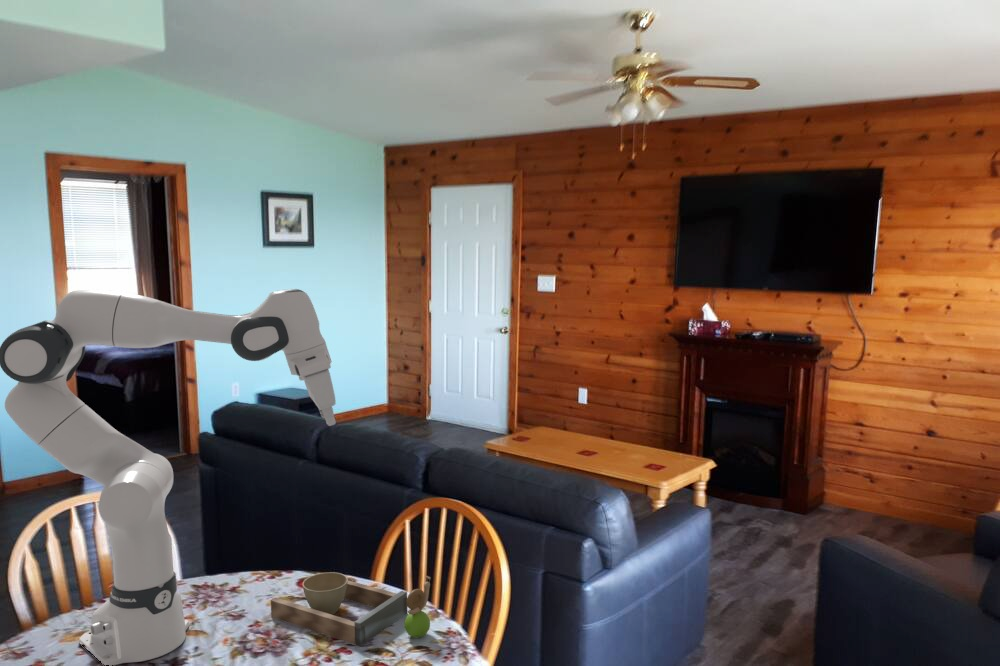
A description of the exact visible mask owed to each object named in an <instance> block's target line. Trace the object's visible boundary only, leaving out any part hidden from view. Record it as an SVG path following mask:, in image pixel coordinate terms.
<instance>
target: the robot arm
mask: <svg viewBox="0 0 1000 666" xmlns="http://www.w3.org/2000/svg"><path fill="white" fill-rule="evenodd" d="M180 341H199V342H209V343H210V342H211V343H218V344H219V343H220V344H227V345H231V346H232V350H234V352H235V353H236V355H238V356H239V357H240V358H242V359H243V360H247V361H251V362H259V361H264V360H266V359H268V358H270V357H271V356H272V355H274V354H276V353H278V352H280V351H283V354H284V355H285V360H286V363H287V365H288V368H289V372H290V374H291V375H292V376H297V377H298V380H299V381H304V385H305V387H306V390H307V394H308V396H309V397H310V399H311V400H312V401H313V403H314V404H315V406H316V407H317V408H318V411H319V414H320V417H321V418H322V419H324V420H325V422H326V425H327V426H328V427H331V426H334V425H336V423H337V421H336V419H335V414H334V410H333V407H334V406H336V404H337V403H336V395H335V394H336V393H335V390H334V386H333V381H332V378H331V377H332V376H331V372H330V370H329V369H331V367H332V366H331V364H332V359H331V355H330V352H329V349H328V345H327V343H326V341H325V338H324V336H323V335H322V334H321V330H320V320H319V317H318V315H317V311H316V309H315V307H314V305H313V302H312V300H311V297H309V295H308V293H307V292H305V291H304V290H301V289H297V288H293V289H292V288H289V289H281V290H275V291H272V292H270V293H269V294H268V296H267V297H266V299H265V300H264V301H263V302H262V303H260V305H259V306H257V307H256V308H255V309H254V310H252V311H250V312H247V313H243V314H239V315H238V314H237V315H234V314H232V315H231V314H230V315H229V314H221V313H214V312H213V313H212V312H205V311H199V310H198V311H197V310H192V309H187V308H184V307H181V306H177V305H174V304H172V303H168V302H166V301H162V300H159V299H156V298H152V297H151V296H150V297H149V296H145V295H140V294H136V293H131V292H123V291H115V290H103V289H102V290H99V289H83V290H80V289H79V290H78V289H77V290H72V291H70V292H68V293H67V294H65V295H64V296H63V297H62V298H61V300H60V302H59V303H58V305H57V308H56V313H55V317H54V318H53V320H43V321H40V322H37V323H35V324H31V325H28V326H25V327H22V328H20V329H18V330H15V331H14V332H12V333H10V335H8V336H7V337H6V338H5V340H3V341H2V343H1V344H0V368H1V370H2V371H3V372H4V374H5V375H6V376H8V377H9V378H11V379H12V380H14V381H17V383H16V385H15V386H14V387H13V388H11V390H10V391H8V393H7V396H6V398H5V401H4V409H5V412H6V413H7V415H9V418H11V420H12V421H13V422H14V423H15V424H16V425H17V427H18V428H19V429H20V430H21V431H22V432H23V433H24V434H25V435H26V436H27V437H28V438H29V439H30V440H32V441H33V442H34V443H35V444H36V445H37V446H39V448H41V449H42V450H43V451H44V452H45V453H47V454H48V455H50V457H52V458H53V460H55V461H56V462H58V463H59V464H61V466H63V467H64V468H65V470H66V469H67V470H68V471H69V472H70V473H73V474H78V475H82V476H84V477H85V478H88V479H90V480H92V481H94V482H96V483H98V484H100V485H101V486H103V487H102V490H101V493H100V495H99V501H98V512H99V514H100V517H101V519H102V520H103V522H104V524H105V529H106V532H107V536H108V539H109V543H110V547H111V556H112V558H111V559H112V569H113V571H112V572H113V581H111V582H109V583H107V585H109V586H108V587H107V589H108V590H109V589H111V590H110V594H109V597H108V598H109V599H107V600H106V601H105V602H104V603H103V604H101V605H100V606H99V607H98V608H97V609H95V611H93V614H92V615H91V621H90V623H91V625H90V628H89V630H87V631H85V632H84V633H83V634H82V635H81V636H80V637H79V638H78V642H79V641H80V642H81V643H83V644H84V645H85V646H86V647H87V648H88V649H89V650H90V651H91V652H92V653H93V654H94V655H95V656H96V657H97V658H98V660H99V661H101V663H102V664H101V663H100V664H101V665H103V664H104V665H109V666H112V665H113V666H116V665H121V664H127V663H140V662H146V661H149V660H153V659H156V658H160V657H162V656H165V655H167V654H168V653H171V652H172V651H174V650H176V649H177V648H179V646H181V645H182V644H183V643H184V641H186V640H185V639H186V638H187V637H186V636H187V634H186V631H187V630H188V628H189V627H190V621H189V620H188V619H186V618H185V615H184V613H185V612H184V608H183V602H182V596H181V593H180V592H179V591H178V586H177V584H178V579H177V574H176V572H175V571H174V560H173V559H174V557H173V542H172V541H173V540H172V536H171V534H170V532H169V529H168V528H169V527H168V524H167V520H166V513H165V504H166V503H165V502H166V498H167V496H168V495H169V494H170V491H171V489H172V488H173V485H174V471H173V470H174V469H173V466H172V464H171V462H170V461H169V460H168V459H167V458H166V457H165V456H164V455H161V454H159V453H154V452H153V451H151V450H150V449H147V448H146V447H144V446H143V445H141V444H140V443H138V442H136V441H135V440H133V439H132V438H130V437H128V436H126V435H125V434H123V433H121V431H118V430H117V429H115V428H114V427H113V426H112V425H111V424H110V423H109V422H107V421H106V419H104V418H102V417H101V415H99V414H98V413H96V412H95V410H93V409H92V408H91V407H89V405H87V404H85V402H83V400H81V399H80V398H79V397H77V395H75V393H73V392H72V390H71V389H70V388H69V386H68V384H67V382H68V381H70V380H71V379H72V378H73V376H74V374H75V372H76V370H77V369H78V367H79V366H80V364H81V362H82V361H83V358H84V356H85V353H86V346H91V345H93V346H94V345H99V346H107V347H115V348H121V349H122V348H123V349H125V348H126V349H149V348H156V347H161V346H164V345H167V344H171V343H175V342H180ZM89 633H91V634H89ZM98 660H97V661H98ZM99 661H98V662H99ZM104 665H103V666H104Z"/></svg>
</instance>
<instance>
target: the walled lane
mask: <svg viewBox="0 0 1000 666" xmlns="http://www.w3.org/2000/svg"><path fill="white" fill-rule="evenodd" d="M407 597H408V592H407V591H404V590H400V591H399V592H397V593H396V592H392V591H389V590H385V589H381V588H378V587H374V586H370V585H367V584H364V583H359V582H357V581H356V582H355V581H352V580H348V583H347V589H346V593H345V596H344V599H343V600H345V601H346V600H347V601H350V602H354V603H357V604H360V605H363V606H364V605H365V606H367V607H371V608H372V610H370V611H369V612H367V613H366V614H364V615H363V616H361V617H360V618H358V619H357V620H355V621H353V620H350V619H347V618H345V617H344V618H343V617H341V616H337V615H335V614H333V615H331V614H328V613H325V612H321V611H318V610H315V609H312V608H311V607H308V606H304V605H301V604H297V603H295V602H292V601H288V600H285V599H283V598H278V597H274V598H272V599H271V600H270V616H271V618H273V619H276V620H278V621H282V622H284V623H288V624H290V625H293V626H296V627H300V628H304V629H306V630H309V631H312V632H315V633H317V634H321V635H324V636H328V637H330V638H334V639H336V640H339V641H343V642H345V643H349V644H352V645H355V646H357V647H362V646H364V645H365V644H367V643H368V642H369V641H371V640H372V639H374V638H375V637H376V636H378V635H379V634H380V633H382V632H383V631H385V630H387V628H389V627H390V626H392V625H393V624H395V623H396V622H397V621H399V620H400V619H402V618H403V617H405V615H406V616H407V615H408V606H407Z"/></svg>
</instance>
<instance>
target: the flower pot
mask: <svg viewBox="0 0 1000 666" xmlns="http://www.w3.org/2000/svg"><path fill="white" fill-rule="evenodd" d="M348 579H349V578H348V577H347V576H346V575H345V574H343V573H340V572H334V571H333V572H331V571H330V572H321V573H317V574H316V573H315V574H313V575H311V576H309V577H307V578H305V579H304V580H303V581H302V590H303V593H304V596H305V599H306V602H307V603H308V606H309V608H312V609H315V610H318V611H321V612H325V613H328V614H331V615H335V614H336V613H337V612H338V610H339V609H340V608H341V606H342V603H343V601H344V600H345V599H344V596H345V593H346V589H347V583H348Z"/></svg>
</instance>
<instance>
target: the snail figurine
mask: <svg viewBox="0 0 1000 666" xmlns="http://www.w3.org/2000/svg"><path fill="white" fill-rule="evenodd" d="M425 578H426V581H425V582H424V584H423V588H424V589H423V590H422V589H421V588H415V589H413V590H412V591H410V592H409V594H407V609H408V610H407V615H406V617H405V619H404V630H405V632H406V634H407V635H409V637H411V638H415V639H419V638H420V639H421V638H422V637H424V636H426V635H427V633H428V632H429V630H430V628H431V619H430V616H429V615H428V613H426V612H425V611H423V609H424V608H425V607H426V605H427V603H428V600H429V595H430V587H431V583H430V581H431V576H428V575H426V576H425ZM428 580H429V581H428Z"/></svg>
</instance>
